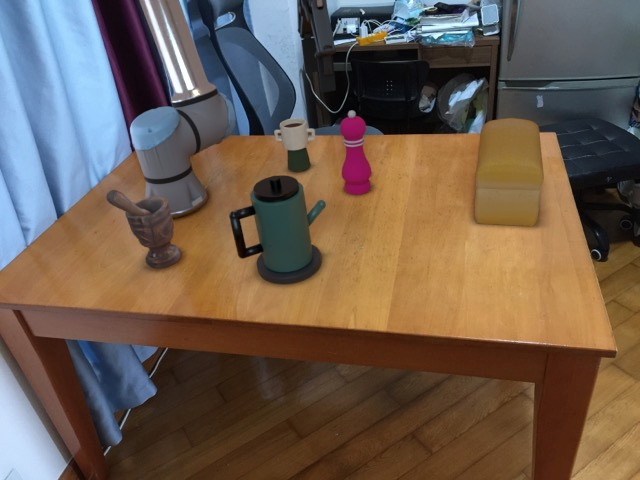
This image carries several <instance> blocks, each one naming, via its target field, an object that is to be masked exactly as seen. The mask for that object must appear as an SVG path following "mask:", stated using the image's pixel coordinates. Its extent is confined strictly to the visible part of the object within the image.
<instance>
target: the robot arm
mask: <svg viewBox="0 0 640 480" xmlns="http://www.w3.org/2000/svg"><path fill="white" fill-rule="evenodd" d="M138 1H139V4H140V6H141V8H142V12H143V14H144V17H145V19H146V23H147V25H148V27H149V30H150V33H151V35H152V37H153V40H154V43H155V45H156V48H157V51H158V53H159V56H160V59H161V62H162V63H163V66H164V69H165V72H166V75H167V77H168V80H169V82H170V86H171V87H172V91H173V94H172V96H171V99H170V103H171V105H172V106H159V107H157V108H151V109H149V110H146V111H144V112H142V113H141V114H139V115H137V117H136V118H134V119H133V121H132V122H131V124H130V127H129V131H130V137H131V143H132V146H133V148H134V150H135V154H136V157H137V160H138V162H139V166H140V168H141V171H142V172H141V173H142V175H143V178H144V182H145V190H144V191H145V193H144V198H149V197H163V198H165V199H167V200H168V205H169V208H170V212H171V215H172V218H173V219H178V218H181V217H185V216H188V215H191V214H193V213H195V212H197V211H198V210H200V209H202V207H204V205H206V203H207V201H208V194H207V191H206V188H205V186H204V185H203V182H201V180H200V179H199V177H198V176H197V174H196V173H195V171H194V168H193V166H192V161H191V157H193V156H194V155H197V154H199V153H201V152H202V151H205V150H207V149H208V148H211V147H213V146H215V145H219V144H221V143H222V142H223V141H225V140H226V139H228V138H229V137H230V136H231V135H232V134H233V133H234V130H235V128H236V125H237V124H236V123H237V116H236V111H235V108H234V104H233V103H232V101H231V99H228V96H227V95H226V94H224V93H223V92H221V91H220V92H219V91H218V88H217V86H216V85H214V84H213V83H211V82H209V80H208V78H207V76H206V73H205V70H204V67H203V64H202V61H201V58H200V55H199V54H198V50H197V47H196V44H195V41H194V37H193V36H192V33H191V32H192V31H191V30H190V26H189V24H188V21H187V18H186V15H185V13H184V10H183V7H182V3H181V1H180V0H138ZM296 13H297V16H296V17H297V32H298V34H299V38H300V39H301V40H300V43H301V49H302V59H303V65H304V74H312V73H316V72H318V79H319V87H320V88H319V89H320V92H321V93H322V94H324V93H329V92H334V91H335V92H336V91H337V85H336V75H335V65H334V54H336V53H337V48H336V45H335V40H334V35H333V30H332V25H331V24H332V23H331V19H330V15H329V14H330V13H329V9H328V2H327V0H296Z"/></svg>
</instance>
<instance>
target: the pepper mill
mask: <svg viewBox="0 0 640 480" xmlns="http://www.w3.org/2000/svg"><path fill="white" fill-rule="evenodd" d="M366 125H367V124H366V121H365V120H364V119H363V118H362V117H360V116H357V113H356V111H355V110H349V111H348V112H347V117H345V118H343V119H342V121H340V124H339V132H340V134H341V136H342V141H343V142H342V143H343V145H344V147H345V158H344V161H343V164H342V167H341V178H342V180H343V181H345V182H344V191H345V192H346V193H347V194H349V195H354V196H358V195H363V194H366V193H368V192H369V191H370V190H371V180H370V179H371V177H372V167H371V164H370V162H369V160H368V158H367V157H366V155H365V152H364V144H365V143H366V140H365V136H364V135H365V133H366V131H367V126H366Z"/></svg>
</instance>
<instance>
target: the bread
mask: <svg viewBox="0 0 640 480" xmlns="http://www.w3.org/2000/svg"><path fill="white" fill-rule="evenodd" d="M542 155H543V154H542V144H541V133H540V127H539V126H538V125H537V123H536V122H535V121H532V120H529V119H523V118H515V117H514V118H513V117H507V118H499V119H494V120H489V121H487V122H486V123H484V124H483V125H482V126H481V129H480V135H479V142H478V151H477V159H476V167H475V174H474V175H475V177H474V179H475V185H476V186H475V193H474V194H475V195H474V209H473V210H474V221H475V222H476V223H477V224H483V225H484V224H485V225H503V226H518V227H519V226H520V227H521V226H522V227H534V226H535V225H536V223H537V220H538V216H539V212H540V211H539V210H540V203H541V188H542V186H543V182H544V177H545V175H544V165H543V164H544V163H543V156H542Z"/></svg>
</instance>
